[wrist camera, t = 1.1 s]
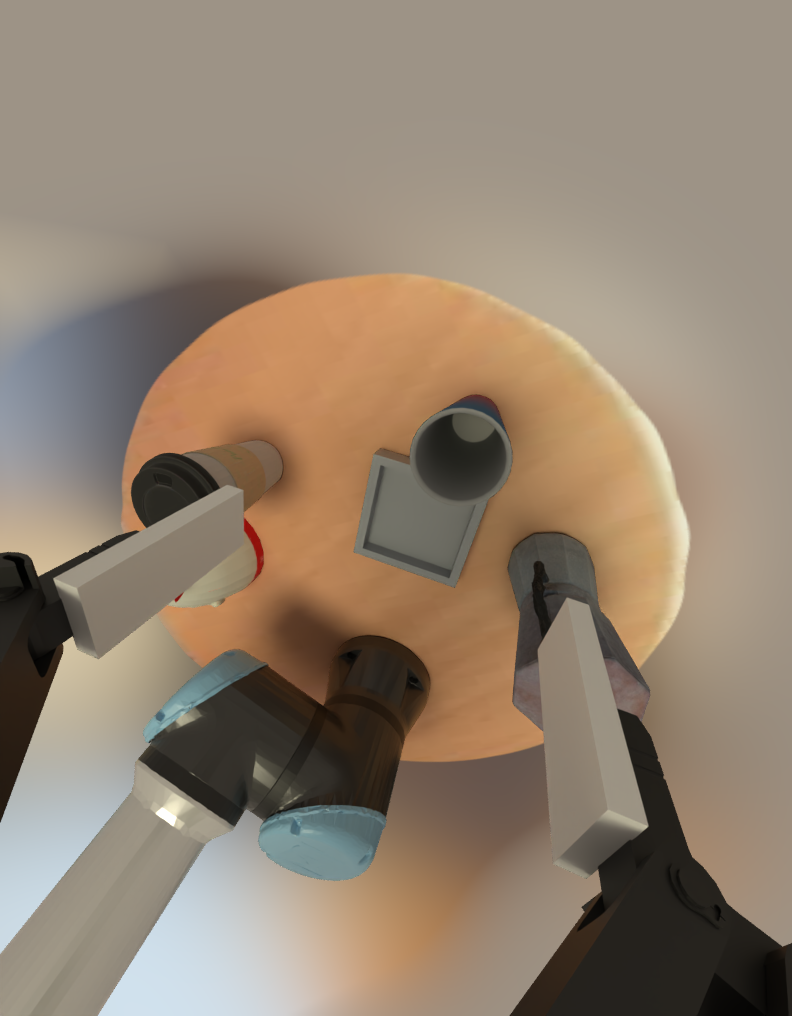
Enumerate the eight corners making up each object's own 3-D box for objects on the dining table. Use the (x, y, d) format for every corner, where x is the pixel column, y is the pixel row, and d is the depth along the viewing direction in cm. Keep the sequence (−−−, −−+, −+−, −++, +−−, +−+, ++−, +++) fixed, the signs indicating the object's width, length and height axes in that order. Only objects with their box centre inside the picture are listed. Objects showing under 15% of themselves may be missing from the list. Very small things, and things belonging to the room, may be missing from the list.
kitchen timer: (169, 502, 53) (59, 553, 40) (248, 500, 50) (155, 557, 36) (199, 582, 59) (110, 651, 45) (273, 586, 55) (200, 663, 41)
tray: (457, 576, 46) (454, 587, 43) (360, 542, 47) (353, 552, 45) (492, 482, 40) (491, 490, 37) (380, 448, 41) (373, 453, 39)
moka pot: (531, 624, 46) (550, 801, 28) (477, 521, 42) (459, 649, 24) (614, 604, 42) (697, 794, 24) (561, 489, 38) (613, 612, 20)
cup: (440, 450, 40) (409, 503, 27) (442, 385, 37) (408, 406, 24) (505, 453, 38) (507, 510, 25) (512, 385, 35) (518, 408, 22)
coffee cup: (275, 415, 43) (176, 444, 30) (308, 487, 46) (231, 543, 33) (217, 439, 47) (105, 475, 33) (251, 505, 49) (160, 563, 36)
